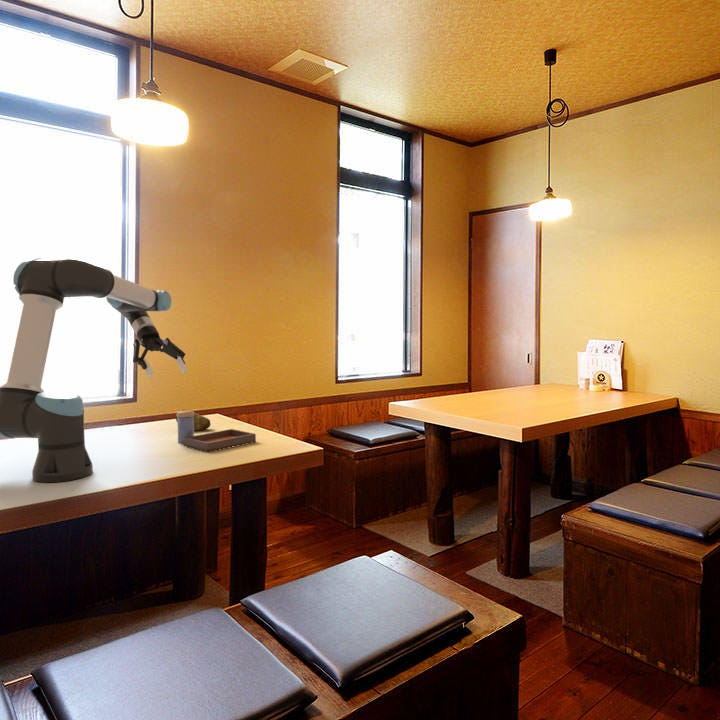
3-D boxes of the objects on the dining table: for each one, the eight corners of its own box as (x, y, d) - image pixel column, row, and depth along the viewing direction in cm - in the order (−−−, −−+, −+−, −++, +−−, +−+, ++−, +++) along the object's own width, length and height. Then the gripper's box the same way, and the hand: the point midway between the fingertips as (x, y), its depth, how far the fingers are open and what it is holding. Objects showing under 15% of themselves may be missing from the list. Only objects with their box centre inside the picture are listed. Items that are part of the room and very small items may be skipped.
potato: (201, 432, 219) (201, 412, 219) (172, 431, 223) (171, 411, 222) (212, 428, 227) (212, 408, 227) (184, 427, 231) (183, 407, 230)
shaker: (183, 445, 199) (182, 413, 198) (174, 442, 203) (173, 412, 202) (197, 442, 203) (197, 411, 202) (188, 439, 207) (187, 409, 206)
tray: (207, 452, 187) (207, 443, 187) (184, 446, 197) (183, 437, 196) (255, 442, 202) (255, 433, 202) (231, 436, 212) (231, 428, 211)
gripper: (172, 336, 228) (194, 376, 220) (110, 339, 209) (132, 383, 201) (178, 323, 224) (201, 363, 216) (117, 325, 205) (139, 369, 197)
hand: (168, 373), depth 208 cm, fingers open, 13 cm apart
